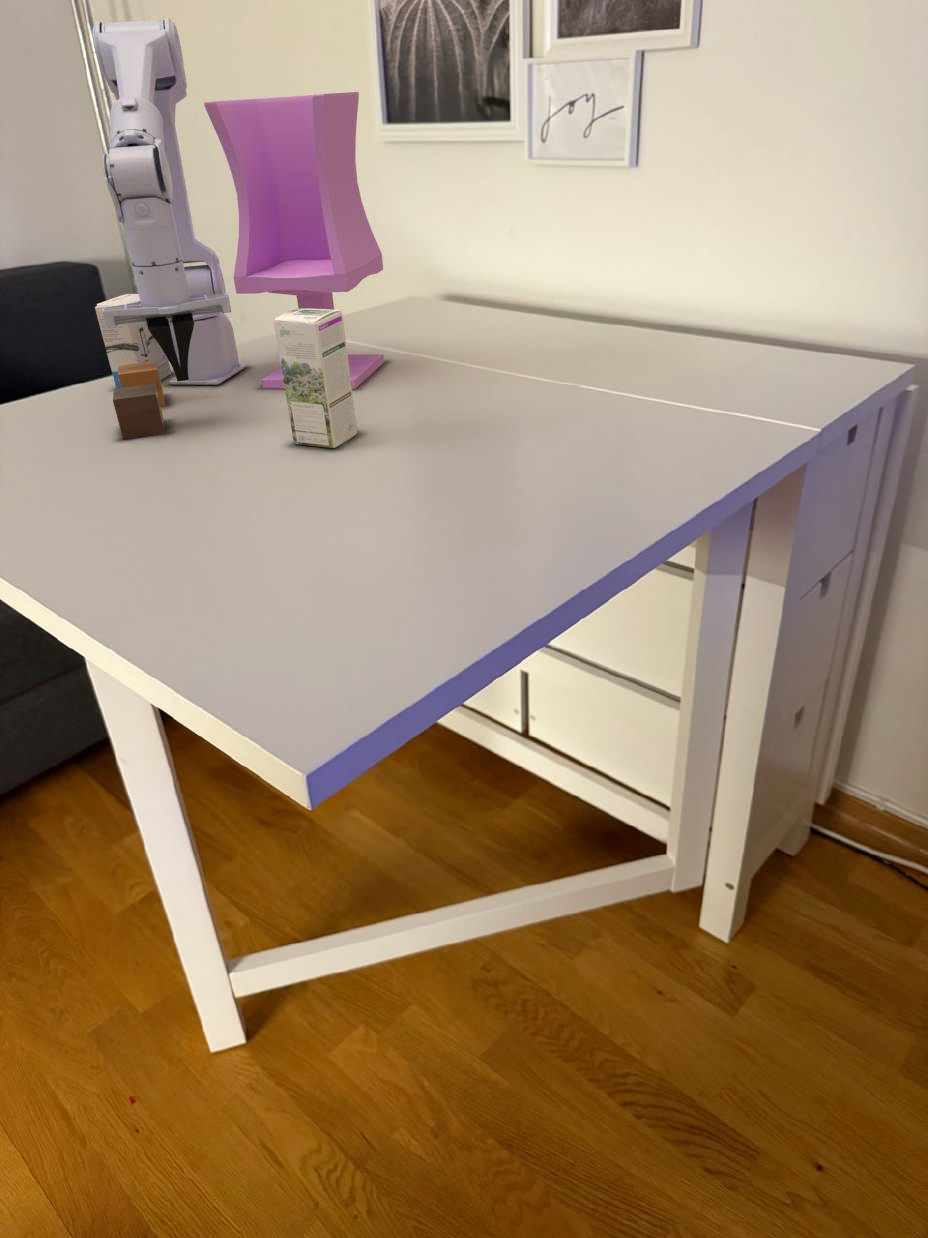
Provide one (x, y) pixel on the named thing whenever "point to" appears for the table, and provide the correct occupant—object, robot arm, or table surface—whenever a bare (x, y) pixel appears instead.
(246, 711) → the table surface
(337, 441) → the syrup box
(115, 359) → the ink box
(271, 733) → the table surface
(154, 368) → the oak block
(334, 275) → the purple pedestal chair
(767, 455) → the table surface
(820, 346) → the table surface
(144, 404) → the walnut block
